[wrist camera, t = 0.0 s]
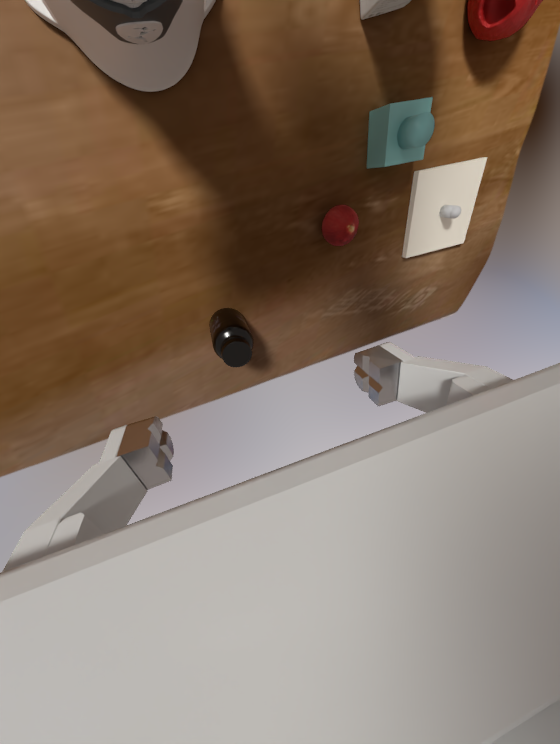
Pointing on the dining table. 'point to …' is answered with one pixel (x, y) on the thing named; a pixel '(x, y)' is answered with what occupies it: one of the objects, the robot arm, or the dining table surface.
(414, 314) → the dining table surface
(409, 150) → the teal knobbed block
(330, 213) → the onion
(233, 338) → the supplement bottle
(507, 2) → the pomegranate
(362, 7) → the skincare box
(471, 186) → the post stand
